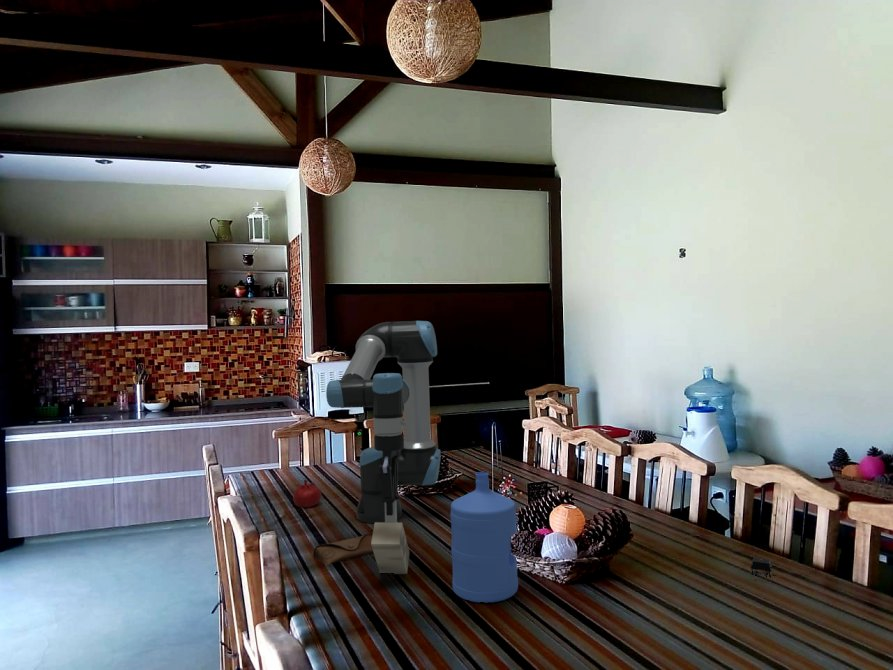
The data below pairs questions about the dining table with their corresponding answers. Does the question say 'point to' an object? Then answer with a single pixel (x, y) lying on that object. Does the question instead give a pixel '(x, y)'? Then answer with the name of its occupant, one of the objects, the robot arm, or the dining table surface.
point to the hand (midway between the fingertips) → (391, 526)
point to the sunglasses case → (344, 549)
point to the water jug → (483, 544)
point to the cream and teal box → (390, 548)
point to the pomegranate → (307, 495)
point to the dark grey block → (761, 567)
